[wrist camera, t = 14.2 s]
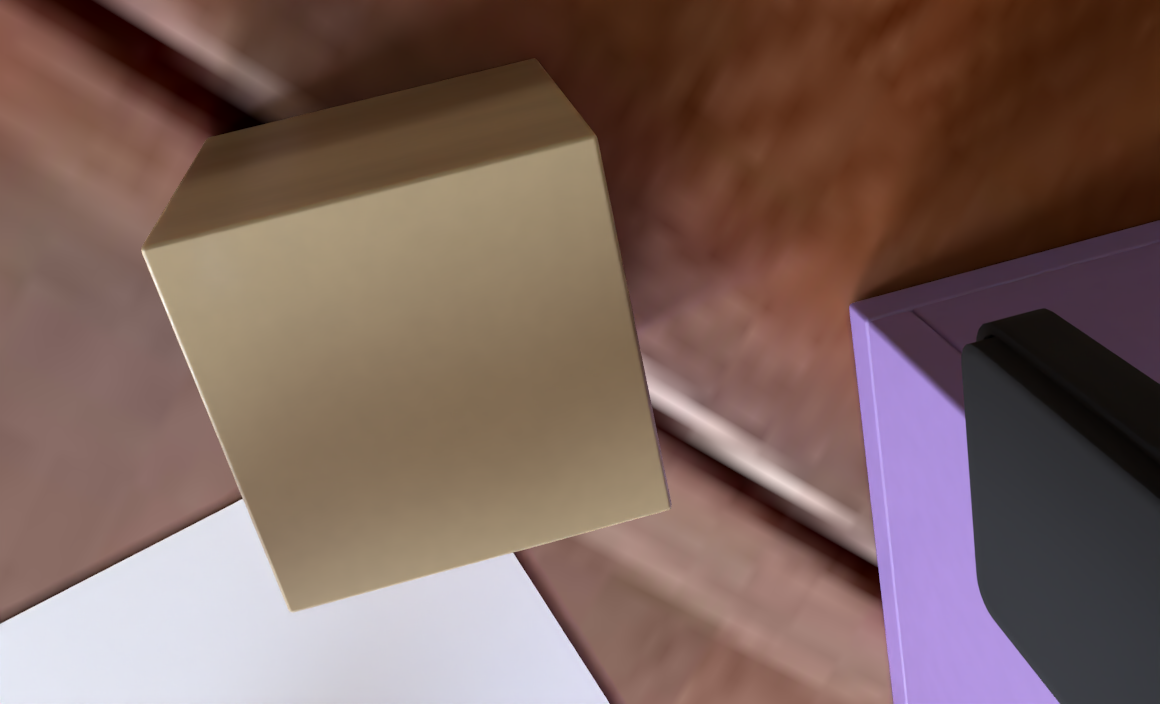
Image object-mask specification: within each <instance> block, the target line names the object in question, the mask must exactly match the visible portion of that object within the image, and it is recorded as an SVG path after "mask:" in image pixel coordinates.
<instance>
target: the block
mask: <svg viewBox="0 0 1160 704" xmlns="http://www.w3.org/2000/svg"><path fill="white" fill-rule="evenodd" d="M141 252H142V254H143V257H144V259H145V262H146V264H147V266H148V269H149V271H150V274H151V276H152V279H153V281H154V283H155V286H156V288H157V291H158V293H159V296H160V298H161V301H162V303H163V305H164V308H165V310H166V313H167V315H168V318H169V320H170V323H171V325H172V327H173V330H174V332H175V335H176V337H177V340H178V342H179V344H180V347H181V349H182V352H183V354H184V357H185V359H186V362H187V364H188V366H189V369H190V371H191V374H192V376H193V379H194V381H195V383H196V386H197V388H198V391H199V393H200V396H201V398H202V401H203V403H204V405H205V408H206V410H207V413H208V415H209V418H210V420H211V423H212V425H213V427H214V430H215V432H216V435H217V437H218V440H219V442H220V444H221V447H222V449H223V452H224V454H225V457H226V459H227V462H228V464H229V466H230V469H231V471H232V474H233V476H234V479H235V481H236V483H237V486H238V488H239V491H240V493H241V496H242V498H243V501H244V503H245V505H246V508H247V510H248V513H249V515H250V518H251V520H252V523H253V525H254V527H255V530H256V532H257V535H258V537H259V540H260V542H261V544H262V547H263V549H264V552H265V554H266V557H267V559H268V562H269V564H270V566H271V569H272V571H273V574H274V576H275V579H276V581H277V583H278V586H279V588H280V591H281V593H282V596H283V598H284V601H285V603H286V605H287V608H288V610H289V611H290V612H291V613H294V612H298V611H301V610H305V609H309V608H312V607H316V606H320V605H323V604H327V603H330V602H334V601H338V600H341V599H345V598H349V597H352V596H356V595H360V594H363V593H367V592H371V591H374V590H378V589H382V588H385V587H389V586H393V585H396V584H400V583H404V582H407V581H411V580H415V579H418V578H422V577H426V576H429V575H433V574H437V573H440V572H444V571H448V570H451V569H455V568H458V567H462V566H466V565H469V564H473V563H477V562H480V561H484V560H488V559H491V558H495V557H499V556H502V555H506V554H510V553H513V552H517V551H521V550H524V549H528V548H532V547H535V546H539V545H543V544H546V543H550V542H554V541H557V540H561V539H565V538H568V537H572V536H576V535H579V534H583V533H586V532H590V531H594V530H597V529H601V528H605V527H608V526H612V525H616V524H619V523H623V522H627V521H630V520H634V519H638V518H641V517H645V516H649V515H652V514H656V513H660V512H663V511H667V510H669V509H671V505H672V504H671V499H670V494H669V489H668V485H667V480H666V475H665V470H664V465H663V460H662V455H661V450H660V445H659V440H658V435H657V430H656V425H655V420H654V415H653V410H652V405H651V400H650V395H649V390H648V386H647V381H646V376H645V371H644V366H643V361H642V356H641V351H640V346H639V341H638V336H637V331H636V326H635V321H634V316H633V311H632V306H631V301H630V296H629V291H628V287H627V282H626V277H625V272H624V267H623V262H622V257H621V252H620V247H619V242H618V237H617V232H616V227H615V222H614V217H613V212H612V207H611V202H610V197H609V192H608V188H607V183H606V178H605V173H604V168H603V163H602V158H601V153H600V148H599V143H598V138H597V136H596V135H595V133H594V132H593V131H592V130H591V128H590V127H589V126H588V124H587V123H586V122H585V121H584V119H583V118H582V117H581V116H580V114H579V113H578V112H577V110H576V109H575V108H574V107H573V105H572V104H571V103H570V101H569V100H568V99H567V98H566V96H565V95H564V94H563V92H562V91H561V90H560V89H559V87H558V86H557V85H556V83H555V82H554V81H553V80H552V78H551V77H550V76H549V74H548V73H547V72H546V71H545V69H544V68H543V67H542V66H541V64H540V63H539V62H538V60H537V59H534V58H533V59H529V60H525V61H521V62H517V63H513V64H508V65H504V66H500V67H496V68H492V69H488V70H484V71H480V72H476V73H472V74H468V75H463V76H459V77H455V78H451V79H447V80H443V81H439V82H435V83H431V84H427V85H422V86H418V87H414V88H410V89H406V90H402V91H398V92H394V93H390V94H386V95H381V96H377V97H373V98H369V99H365V100H361V101H357V102H353V103H349V104H345V105H340V106H336V107H332V108H328V109H324V110H320V111H316V112H312V113H308V114H304V115H299V116H295V117H291V118H287V119H283V120H279V121H275V122H271V123H267V124H263V125H258V126H254V127H250V128H246V129H242V130H238V131H234V132H230V133H226V134H222V135H218V136H213V137H209V138H208V139H206V141H205V143H204V144H203V146H202V148H201V149H200V151H199V153H198V154H197V156H196V158H195V159H194V161H193V163H192V164H191V166H190V168H189V169H188V171H187V173H186V174H185V176H184V178H183V179H182V181H181V183H180V184H179V186H178V188H177V189H176V191H175V192H174V194H173V196H172V197H171V199H170V201H169V202H168V204H167V206H166V207H165V209H164V211H163V212H162V214H161V216H160V217H159V219H158V221H157V222H156V224H155V226H154V227H153V229H152V231H151V232H150V234H149V236H148V237H147V239H146V241H145V242H144V244H143V246H142V248H141Z"/></svg>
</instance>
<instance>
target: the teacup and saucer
mask: <svg viewBox="0 0 1160 704" xmlns="http://www.w3.org/2000/svg"><path fill="white" fill-rule="evenodd" d="M0 704H610V703H609V702H608V700H607V699H606V697H605V695H604V694H603V692H602V691H601V689H600V688H599V686H598V685H597V683H596V681H595V680H594V678H593V677H592V675H591V674H590V672H589V670H588V669H587V667H586V666H585V664H584V663H583V661H582V660H581V658H580V656H579V655H578V653H577V652H576V650H575V649H574V647H573V645H572V644H571V642H570V641H569V639H568V638H567V636H566V635H565V633H564V631H563V630H562V628H561V627H560V625H559V624H558V622H557V620H556V619H555V617H554V616H553V614H552V613H551V611H550V610H549V608H548V606H547V605H546V603H545V602H544V600H543V599H542V597H541V595H540V594H539V592H538V591H537V589H536V588H535V586H534V585H533V583H532V581H531V580H530V578H529V577H528V575H527V574H526V572H525V570H524V569H523V567H522V566H521V564H520V563H519V561H518V560H517V558H516V556H515V555H514V553H510V554H506V555H502V556H499V557H495V558H491V559H488V560H484V561H480V562H477V563H473V564H469V565H466V566H462V567H458V568H455V569H451V570H448V571H444V572H440V573H437V574H433V575H429V576H426V577H422V578H418V579H415V580H411V581H407V582H404V583H400V584H396V585H393V586H389V587H385V588H382V589H378V590H374V591H371V592H367V593H363V594H360V595H356V596H352V597H349V598H345V599H341V600H338V601H334V602H330V603H327V604H323V605H320V606H316V607H312V608H309V609H305V610H301V611H298V612H294V613H291V612H290V611H289V610H288V608H287V605H286V603H285V601H284V598H283V596H282V593H281V591H280V588H279V586H278V583H277V581H276V579H275V576H274V574H273V571H272V569H271V566H270V564H269V562H268V559H267V557H266V554H265V552H264V549H263V547H262V544H261V542H260V540H259V537H258V535H257V532H256V530H255V527H254V525H253V523H252V520H251V518H250V515H249V513H248V510H247V508H246V505H245V503H244V501H243V499H241V500H240V501H238V502H236V503H234V504H232V505H230V506H228V507H226V508H224V509H222V510H220V511H218V512H216V513H214V514H212V515H210V516H208V517H207V518H205V519H203V520H201V521H199V522H197V523H195V524H193V525H191V526H189V527H187V528H185V529H183V530H181V531H179V532H177V533H176V534H174V535H172V536H170V537H168V538H166V539H164V540H162V541H160V542H158V543H156V544H154V545H152V546H150V547H148V548H146V549H144V550H143V551H141V552H139V553H137V554H135V555H133V556H131V557H129V558H127V559H125V560H123V561H121V562H119V563H117V564H115V565H113V566H111V567H110V568H108V569H106V570H104V571H102V572H100V573H98V574H96V575H94V576H92V577H90V578H88V579H86V580H84V581H82V582H80V583H78V584H77V585H75V586H73V587H71V588H69V589H67V590H65V591H63V592H61V593H59V594H57V595H55V596H53V597H51V598H49V599H47V600H46V601H44V602H42V603H40V604H38V605H36V606H34V607H32V608H30V609H28V610H26V611H24V612H22V613H20V614H18V615H16V616H14V617H13V618H11V619H9V620H7V621H5V622H3V623H1V624H0Z"/></svg>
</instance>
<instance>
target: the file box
mask: <svg viewBox="0 0 1160 704" xmlns="http://www.w3.org/2000/svg"><path fill="white" fill-rule="evenodd" d="M1042 308H1046V309H1048V310H1050V311H1053V312H1054V313H1056V314H1057V315H1058V316H1060V317H1061V318H1063V319H1064V320H1066V321H1067V322H1069V323H1070V324H1072V325H1073V326H1075V327H1076V328H1078V329H1079V330H1081V331H1082V332H1084V333H1085V334H1087V335H1088V336H1089V337H1091V338H1092V339H1094V340H1095V341H1097V342H1098V343H1100V344H1101V345H1103V346H1104V347H1106V348H1107V349H1109V350H1110V351H1112V352H1113V353H1115V354H1116V355H1118V356H1119V357H1120V358H1122V359H1123V360H1125V361H1126V362H1128V363H1129V364H1131V365H1132V366H1134V367H1135V368H1137V369H1138V370H1140V371H1141V372H1143V373H1144V374H1146V375H1147V376H1149V377H1150V378H1151V379H1153V380H1154V381H1156V382H1157V383H1159V384H1160V220H1158V221H1155V222H1151V223H1147V224H1144V225H1140V226H1136V227H1132V228H1129V229H1125V230H1121V231H1118V232H1114V233H1110V234H1107V235H1103V236H1099V237H1095V238H1092V239H1088V240H1084V241H1081V242H1077V243H1073V244H1069V245H1066V246H1062V247H1058V248H1055V249H1051V250H1047V251H1044V252H1040V253H1036V254H1032V255H1029V256H1025V257H1021V258H1018V259H1014V260H1010V261H1006V262H1003V263H999V264H995V265H992V266H988V267H984V268H981V269H977V270H973V271H969V272H966V273H962V274H958V275H955V276H951V277H947V278H943V279H940V280H936V281H932V282H929V283H925V284H921V285H918V286H914V287H910V288H906V289H903V290H899V291H895V292H892V293H888V294H884V295H880V296H877V297H873V298H869V299H866V300H862V301H858V302H855V303H852V304H850V307H849V309H850V318H851V327H852V336H853V345H854V354H855V363H856V372H857V381H858V390H859V399H860V407H861V416H862V425H863V434H864V443H865V452H866V461H867V470H868V479H869V488H870V497H871V506H872V515H873V523H874V532H875V541H876V550H877V559H878V568H879V577H880V586H881V595H882V604H883V613H884V622H885V630H886V639H887V648H888V657H889V666H890V675H891V684H892V693H893V702H894V704H1060V703H1059V702H1058V701H1057V700H1056V698H1055V697H1054V696H1053V694H1052V693H1051V692H1050V691H1049V689H1048V688H1047V687H1046V686H1045V684H1044V683H1043V682H1042V681H1041V679H1040V678H1039V677H1038V675H1037V674H1036V673H1035V672H1034V670H1033V669H1032V668H1031V667H1030V665H1029V664H1028V663H1027V662H1026V660H1025V659H1024V658H1023V656H1022V655H1021V654H1020V653H1019V651H1018V650H1017V649H1016V648H1015V646H1014V645H1013V644H1012V643H1011V641H1010V640H1009V639H1008V637H1007V636H1006V635H1005V634H1004V632H1003V631H1002V630H1001V629H1000V627H999V626H998V625H997V624H996V622H995V621H994V620H993V618H992V617H991V615H990V614H989V612H988V610H987V608H986V606H985V604H984V602H983V599H982V597H981V594H980V591H979V587H978V582H977V575H976V561H975V547H974V533H973V519H972V505H971V491H970V478H969V464H968V450H967V436H966V422H965V408H964V394H963V380H962V366H961V354H962V350H963V348H964V346H965V345H966V344H969V343H973V342H976V337H977V333H978V330H979V328H980V327H981V326H982V324H984V323H988V322H992V321H996V320H999V319H1003V318H1007V317H1011V316H1015V315H1018V314H1022V313H1026V312H1030V311H1033V310H1037V309H1042Z"/></svg>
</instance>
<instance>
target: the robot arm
mask: <svg viewBox="0 0 1160 704" xmlns="http://www.w3.org/2000/svg"><path fill="white" fill-rule="evenodd" d="M961 366H962V380H963V394H964V408H965V422H966V436H967V450H968V464H969V478H970V491H971V505H972V519H973V533H974V547H975V561H976V575H977V582H978V587H979V591H980V594H981V597H982V599H983V602H984V604H985V606H986V608H987V610H988V612H989V614H990V615H991V617H992V618H993V620H994V621H995V622H996V624H997V625H998V626H999V627H1000V629H1001V630H1002V631H1003V632H1004V634H1005V635H1006V636H1007V637H1008V639H1009V640H1010V641H1011V643H1012V644H1013V645H1014V646H1015V648H1016V649H1017V650H1018V651H1019V653H1020V654H1021V655H1022V656H1023V658H1024V659H1025V660H1026V662H1027V663H1028V664H1029V665H1030V667H1031V668H1032V669H1033V670H1034V672H1035V673H1036V674H1037V675H1038V677H1039V678H1040V679H1041V681H1042V682H1043V683H1044V684H1045V686H1046V687H1047V688H1048V689H1049V691H1050V692H1051V693H1052V694H1053V696H1054V697H1055V698H1056V700H1057V701H1058V702H1059V703H1060V704H1160V384H1159V383H1157V382H1156V381H1154V380H1153V379H1151V378H1150V377H1149V376H1147V375H1146V374H1144V373H1143V372H1141V371H1140V370H1138V369H1137V368H1135V367H1134V366H1132V365H1131V364H1129V363H1128V362H1126V361H1125V360H1123V359H1122V358H1120V357H1119V356H1118V355H1116V354H1115V353H1113V352H1112V351H1110V350H1109V349H1107V348H1106V347H1104V346H1103V345H1101V344H1100V343H1098V342H1097V341H1095V340H1094V339H1092V338H1091V337H1089V336H1088V335H1087V334H1085V333H1084V332H1082V331H1081V330H1079V329H1078V328H1076V327H1075V326H1073V325H1072V324H1070V323H1069V322H1067V321H1066V320H1064V319H1063V318H1061V317H1060V316H1058V315H1057V314H1056V313H1054V312H1053V311H1050V310H1048V309H1046V308H1042V309H1037V310H1033V311H1030V312H1026V313H1022V314H1018V315H1015V316H1011V317H1007V318H1003V319H999V320H996V321H992V322H988V323H984V324H982V326H981V327H980V328H979V330H978V333H977V337H976V342H973V343H969V344H966V345H965V346H964V348H963V350H962V354H961Z"/></svg>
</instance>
